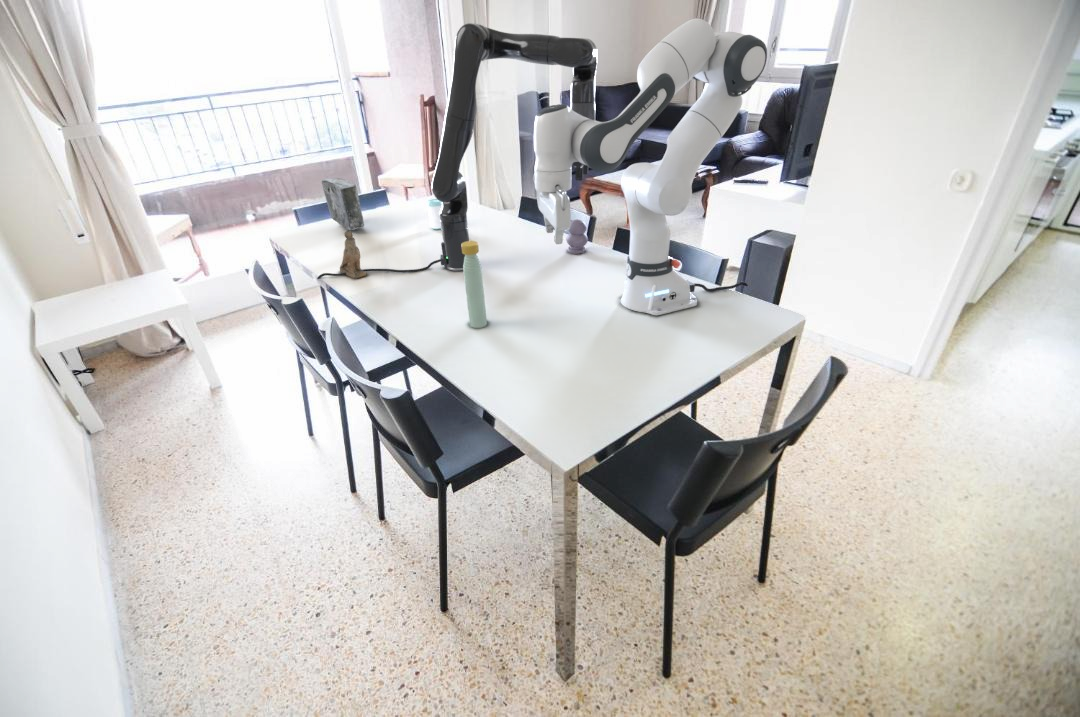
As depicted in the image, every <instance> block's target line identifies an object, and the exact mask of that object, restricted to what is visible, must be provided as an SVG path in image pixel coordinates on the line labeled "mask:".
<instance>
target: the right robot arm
mask: <svg viewBox="0 0 1080 717" xmlns="http://www.w3.org/2000/svg"><path fill="white" fill-rule="evenodd" d="M767 58H768V48H767V45H766V44H765V42H764V41H763V40H761V39H760V37H759V38H758V37H757V36H755V35H752V34H743V33H739V32H735V31H715V30H714V29H713V26H712V25H711V24H710V23H709V22H707V21H706V20H705V19H702V18H698V17H697V18H692V19H689V20H687V21H686V22H684V23H683V24H681V25H679V26H678V27H676V28H675V29H674V30H673V31H671V32H670V33H668V34H667V35H666V36H665V37H663V38H662V39H661V40H660V41H659V42H658V43H656V44H655V46H654V47H652V48H651V50H649V52H647V53H646V55H645V56H644V57H643V59H642V60H641V61H640V63H639V64H638V67H637V72H636V80H637V81H636V82H637V85H638V88H639V90H640V91H639V93H638V94H637V95H636V96H635V97H634V98H633V99H632V101H631V102H630V103H629V104H628V105H626V107H625V108H624V109H623V110H622V111H621V112H620V113H619V114H618V116H616V117H615V118H612V119H611V120H608V121H599V120H596V119H595V120H592V119H589V118H586V117H584V116H582V115H580V114H578V113H576V112H574V111H573V110H571V109H570V106H569V105H567V104H564V103H563V104H562V103H561V104H552V105H547V106H546V107H543V108H541V109H540V110H539V111H538V112H536V115H535V118H534V124H533V151H534V155H535V162H534V174H533V176H532V177H533V183H534V189H535V191H536V192H535V193H536V201H537V207H538V211H540V213H541V214H542V215H543V220H544V227H545V232H546V233H547V234H553V233H554V235H553V242H554V243H555V245H562V244H563V240H564V234H565V231H566V230H568V229H570V226H571V220H572V215H571V214H572V212H571V199H570V197H569V195H567V192H568V191H570V190H571V189H572V179H573V178H572V176H573V175H572V172H573V170H572V168H573V167H572V166H573V163H574V162H580V163H582V164H585V165H587V166H588V168H590V169H592V170H593V171H594V172H596V173H604V174H605V173H609V172H612V171H613V170H615V169H617V168H618V167H619V166H620V165H621V164H622V163H623V162H624V160H625V158H626V156H627V155H628V153H629V152H630V149H631V147H632V145H633V144H634V143H635V142H636V140H638V139H639V137H640V136H641V135H642V134H643V133H644V131H646V130H647V128H648V127H649V126H650V125H651V124H652V123H653V122H654V121H655V120H656V119H657V118H658V117H659V116H660V115H661V113H662V112H663V111H664V110H665V109H666V108H667V107H668V105H669V104H670V103H671V101H672V100H673V98H674V96H675V95H676V94H678V92H679V91H680V90H682V88H684V86H686V85H687V84H688V83H689V82H690V81H691V80H692V79H693V80H695V81H699V82H704V83H705V84H704V88H703V89H702V92H701V94H700V96H699V97H698V99H696V101H695V102H694V103H692V104H693V105H692V106H691V107H690V108H689V109H688V110H687V111H686V113H685V114H684V116H683V117H682V118H681V119H680V121H679V122H678V123H677V125H676V126H675V127H674V128H673V129H672V130H671V132H670V133H669V135H668V136H667V139H666V150H665V153H664V154H663V157H662V159H661V160H660V162H659V164H653V163H650V162H647V161H646V162H635V163H632V164H631V165H629V166H628V167H626V169H625V170H624V171H623V173H622V175H621V178H620V189H621V191H622V193H623V195H624V198H625V204H626V209H627V216H628V222H629V249H628V255H627V258H626V265H625V266H626V268H625V270H626V271H625V272H626V280H624V289H623V293H622V296H621V298H620V304H621V305H622V306H623V307H625V308H626V309H629V310H630V311H635V312H639V313H646V314H648V315H651V316H661V315H665V314H669V313H673V312H677V311H681V310H684V309H689V308H693V307H696V306H697V305H698V298H697V297H696V296H695V295H694V294H693V293H694V292H695V288H696V287H699V288H702V289H703V290H704V291H706V292H708V293H709V292H710V293H711V292H716V291H717V292H718V291H723V290H732V289H735V288H737V287H739V286H745V287H748V286H749V285H748V283H747V282H745V281H739V282H737V283H735V284H733V285H727V286H726V285H725V286H717V287H713V288H708V287H706V285H704V284H702V283H696V282H692V281H690V280H688V279H687V278H685V277H684V276H683V275H682V274H680V273H679V272H678V271H676V270H675V269H679V267H680V266H681V262H680V261H679V260H677V259H674V258H673V257H671V256H669V253H670V252H669V251H670V244H671V243H670V242H671V228H670V225H669V224H668V220H667V217H668V216H669V217H672V216H673V217H674V216H677V215H680V214H681V213H683V212H684V211H685V210H687V208H688V207H689V204H690V203H691V200H692V197H693V189H692V188H693V186H692V185H693V182H694V179H695V176H696V174H697V172H698V170H699V168H700V167H701V165H702V163H703V162H704V161H705V159H706V158H707V157H708V155H709V154H710V152H711V151H712V150H713V149H714V147H716V145H717V144H718V142H719V141H720V140H721V139H722V138H723V136H724V135H725V133H726V132H727V131H728V129H729V128H730V127H731V125H732V124H733V122H734V120H735V119H736V117H737V115H738V114H739V111H740V110H741V108H742V106H743V96H744V95H745V94H746V93H747V92H749V91H750V90H751V89H752V87H753V85H755V83H756V82H757V81H758V80H759V79H760V77H761V75H762V74H763V72H764V69H765V67H766V64H767ZM666 216H667V217H666ZM568 231H569V230H568Z"/></svg>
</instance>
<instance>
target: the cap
mask: <svg viewBox="0 0 1080 717" xmlns="http://www.w3.org/2000/svg"><path fill="white" fill-rule="evenodd" d="M461 245H462V246H461V247H462V253H463V254H465V255H473V254H477V255H478V253H479V252H480V250H479V248H480V247H479V242H478V241H475V240H469V241H466V242H463V243H462V244H461Z"/></svg>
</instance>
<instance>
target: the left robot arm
mask: <svg viewBox="0 0 1080 717" xmlns="http://www.w3.org/2000/svg"><path fill="white" fill-rule="evenodd" d="M453 54H454V55H453V65H452V67H453V68H452V75H451V80H450V85H449V86H450V87H449V92H448V97H447V98H448V99H447V103H446V108H445V114H444V119H443V120H444V121H443V127H442V134H441V140H440V145H439V146H440V147H439V153H438V159H437V162H436V166H435V170H434V173H433V177H432V181H431V191H432V194H433V197H434V198H435V199H437V200H439V201H440V202H443V203H442V208H441V211H440V214H439V215H440V223H441V229H440V230H441V235H442V242H441V243H440V246H441V250H442V251H441V253H442V254H440V258H439V259H437V260H433V261H431V262H429V264H428V265H427V266H424V267H421V268H416V269H392V268H364V269H363V268H361V269H362V270H364V271H365V273H366V272H392V273H417V272H422V271H426V270H429V268H431V267H432V266H433V265H434V264H437V263H440V266H443V267H444V269H445V270H449V271H454V272H459V271H463V265H464V257H465V254H463V253H462V247H461V246H462V245H461V244H462V243H463V242H466V241H470V234H469V224H468V216H467V213H468V209H469V208H468V207H469V206H468V191H467V183H466V180H465V178H464V176H463V174H462V173H461V172H460V168H461V163H462V160H463V158H464V156H465V153H466V151H467V150H468V147H469V145H470V143H471V140H472V137H473V133H474V130H475V125H476V119H477V112H478V106H477V104H478V103H477V92H476V90H477V79H478V74H479V70H480V66H481V62H483V61H486V60H497V59H509V60H517V61H521V62H525V63H530V64H538V65H545V66H546V65H547V66H561V67H566V68H572V80H571V82H570V90H569V91H570V92H569V94H570V97H569V98H570V100H569V102H570V105H569V108H570V109H571V110H573V111H574V112H576V113H578V114H580V115H582V116H584V117H586V118H589V119H592V120H596V75H597V68H598V47H597V45H596V44H595V42H594V41H593V40H592V39H590V38H583V37H560V36H557V35H552V34H551V35H550V34H541V33H513V32H512V33H511V32H504V31H500V30H496V29H493V28H490V27H486V26H485V25H483V24H480V23H472V22H469V23H464V24H463V25H461V26H460V28H459V29H458V30H457V32H456V35H455V40H454V51H453ZM572 166H573V167H574V168H575V169H574V170H575V173H574V176H575V181H583V180H584V175H588V174H589V167H588V166H587V165H585V164H582V163H580V162H574V163H572ZM325 276H328V277H329V276H330V277H341V276H347V275H346V273H341V272H339V273H331V272H323V273H321V274H319V275H318V276H317V278H316V279H317V280H320V279H322V278H323V277H325Z"/></svg>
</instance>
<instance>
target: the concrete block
mask: <svg viewBox="0 0 1080 717" xmlns="http://www.w3.org/2000/svg"><path fill="white" fill-rule="evenodd" d="M321 186H322V190H323V194H324V197H325V200H326V204H327V208H328V211H329V214H330V217H331V219H332V220H333V221H335V222H337V223H338V224H339V225H340V226H342V228H344V229H346V231H348V230H350V231H354V230H357V229H360V228H363V227H365V221H364V217H363V212H362V207H361V203H360V202H361V201H360V197H359V192H358V188H357V186H356V184H354V183H353V182H351V181H349V180H347V179H345V178H342V177H341V178H340V177H332V178H326V179H322V180H321Z"/></svg>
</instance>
